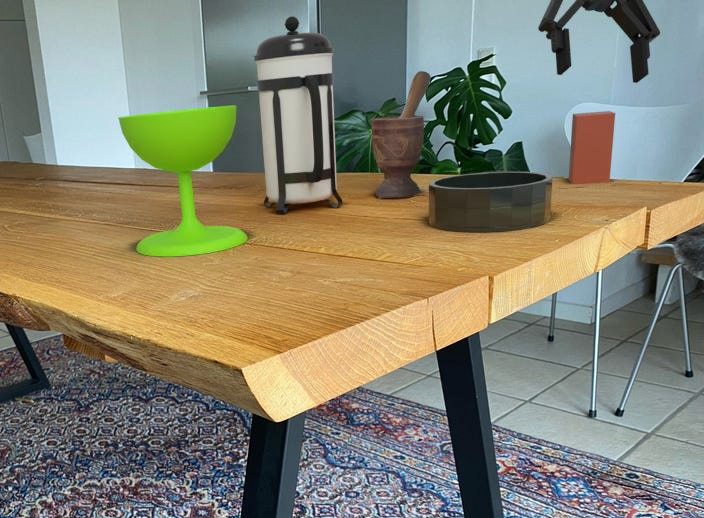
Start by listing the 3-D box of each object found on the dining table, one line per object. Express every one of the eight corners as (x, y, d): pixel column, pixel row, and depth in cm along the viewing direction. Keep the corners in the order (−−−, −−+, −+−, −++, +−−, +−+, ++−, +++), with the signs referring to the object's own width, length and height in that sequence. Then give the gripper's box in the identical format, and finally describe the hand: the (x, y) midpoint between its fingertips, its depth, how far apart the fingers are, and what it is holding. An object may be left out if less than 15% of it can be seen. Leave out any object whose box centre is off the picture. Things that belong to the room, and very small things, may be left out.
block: (604, 179, 123) (609, 110, 120) (609, 184, 118) (615, 112, 115) (568, 181, 125) (572, 113, 121) (571, 186, 120) (576, 115, 116)
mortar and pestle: (390, 189, 136) (389, 74, 130) (436, 188, 132) (437, 69, 125) (365, 199, 128) (362, 76, 121) (413, 199, 123) (413, 71, 116)
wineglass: (242, 228, 113) (231, 104, 107) (253, 248, 98) (241, 106, 92) (138, 239, 112) (121, 115, 106) (133, 261, 97) (114, 119, 91)
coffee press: (237, 214, 125) (221, 22, 115) (291, 198, 137) (281, 22, 126) (323, 218, 115) (313, 6, 104) (374, 200, 126) (370, 7, 115)
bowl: (544, 208, 105) (546, 168, 103) (554, 230, 91) (557, 185, 89) (432, 213, 110) (432, 175, 108) (426, 234, 96) (425, 191, 94)
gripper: (645, -20, 128) (655, 93, 125) (512, -36, 125) (518, 79, 121) (677, -50, 121) (689, 69, 117) (537, -69, 117) (545, 53, 114)
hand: (602, 74), depth 119 cm, fingers open, 13 cm apart
